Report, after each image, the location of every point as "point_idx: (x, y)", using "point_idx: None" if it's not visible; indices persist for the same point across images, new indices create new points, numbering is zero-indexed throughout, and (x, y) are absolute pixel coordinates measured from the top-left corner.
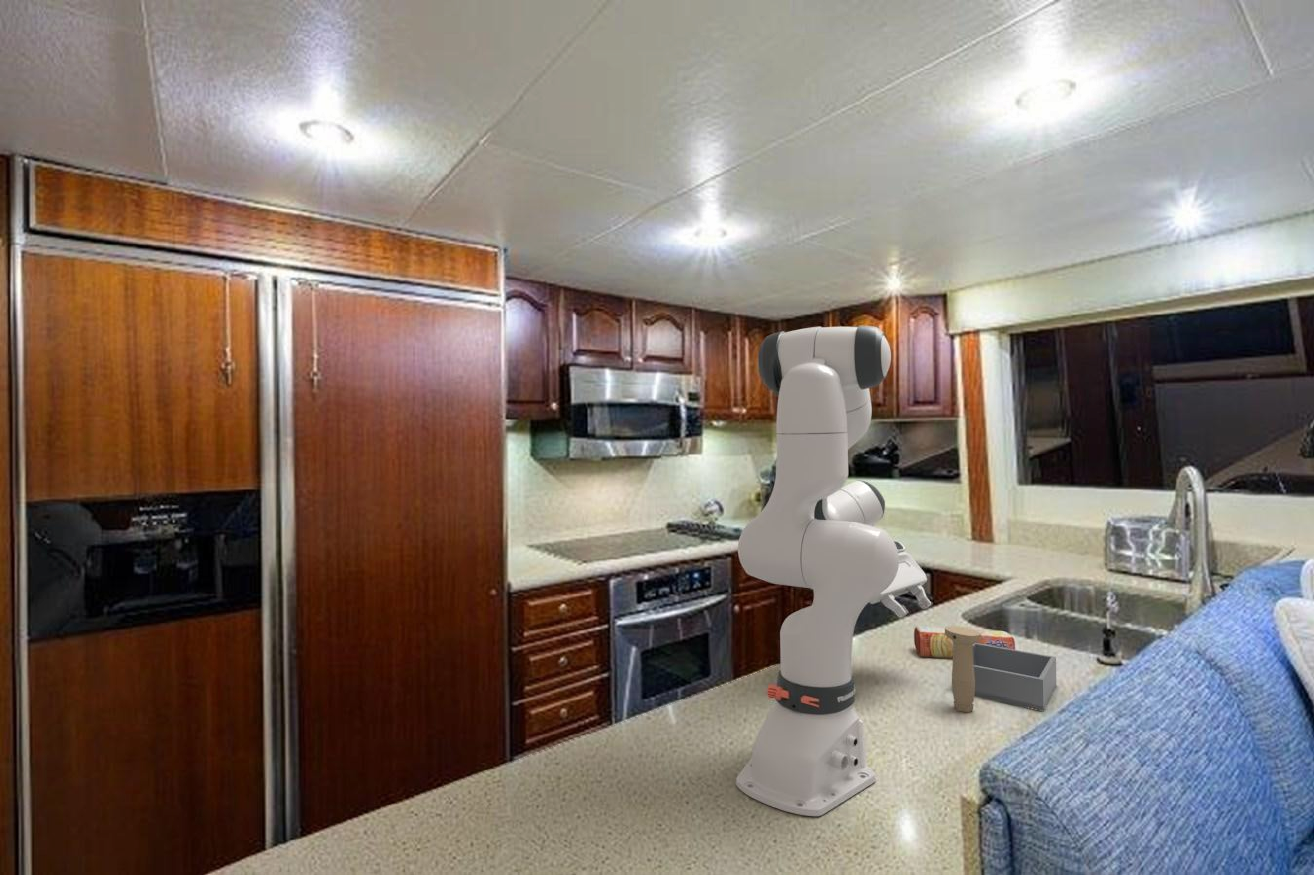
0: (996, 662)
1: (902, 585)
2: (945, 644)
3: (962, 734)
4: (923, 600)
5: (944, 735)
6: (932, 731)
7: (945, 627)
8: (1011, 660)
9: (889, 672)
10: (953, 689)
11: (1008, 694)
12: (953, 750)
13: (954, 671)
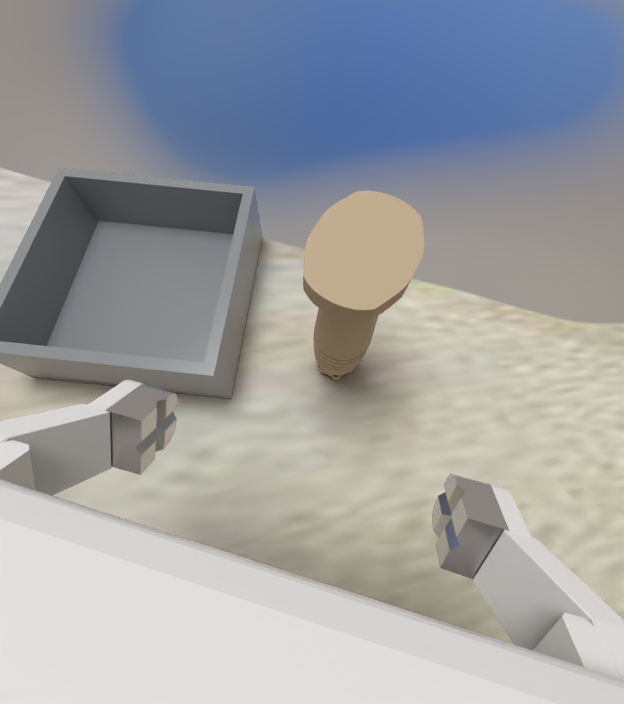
0: (42, 307)
1: (327, 608)
2: None
3: (465, 348)
4: (152, 419)
5: (494, 377)
6: (492, 401)
7: (355, 308)
8: (48, 268)
9: None
10: (353, 365)
11: (249, 277)
12: (547, 353)
13: (367, 342)
